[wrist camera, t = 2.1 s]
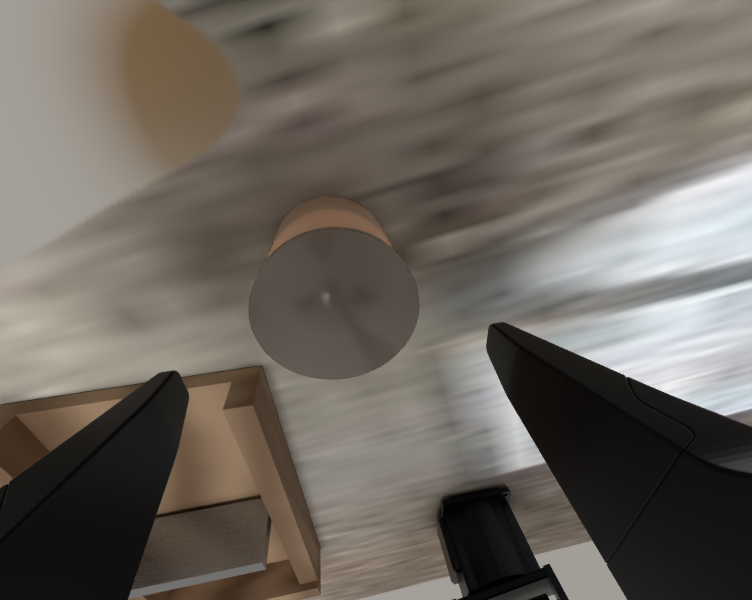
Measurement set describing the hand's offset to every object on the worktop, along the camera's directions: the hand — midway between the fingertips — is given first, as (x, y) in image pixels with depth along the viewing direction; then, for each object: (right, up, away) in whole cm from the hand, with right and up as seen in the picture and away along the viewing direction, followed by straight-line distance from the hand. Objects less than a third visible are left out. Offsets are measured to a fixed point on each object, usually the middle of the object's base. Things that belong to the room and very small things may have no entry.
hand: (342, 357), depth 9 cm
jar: (-1, +4, +7) cm, 8 cm away
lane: (-12, -13, +15) cm, 23 cm away
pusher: (-12, -15, +15) cm, 24 cm away
